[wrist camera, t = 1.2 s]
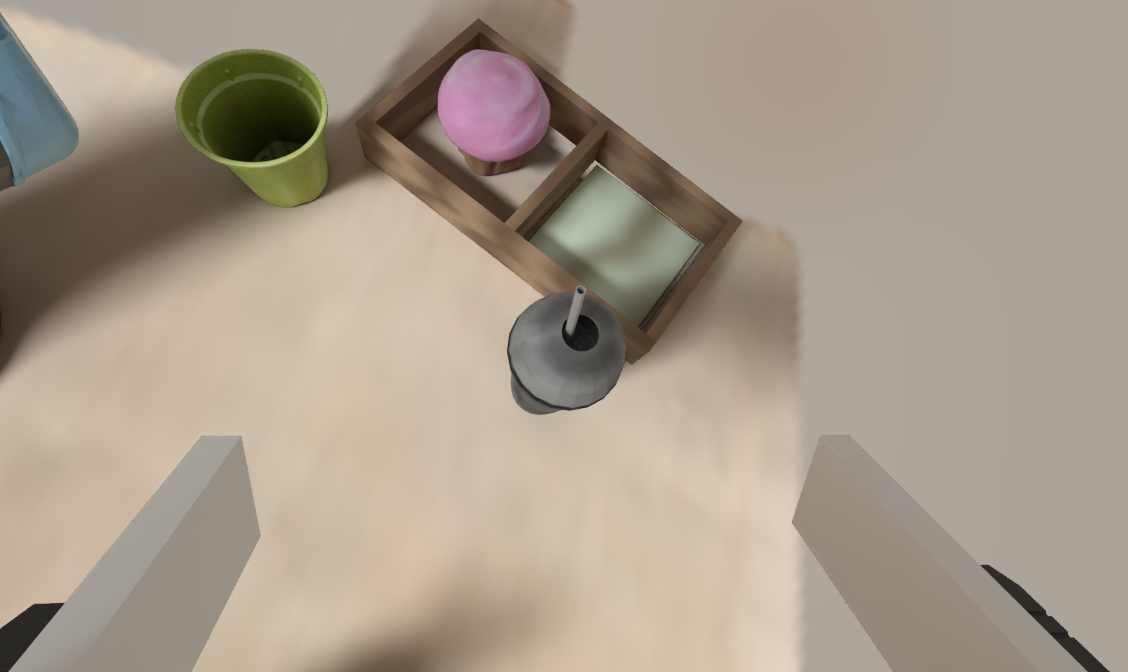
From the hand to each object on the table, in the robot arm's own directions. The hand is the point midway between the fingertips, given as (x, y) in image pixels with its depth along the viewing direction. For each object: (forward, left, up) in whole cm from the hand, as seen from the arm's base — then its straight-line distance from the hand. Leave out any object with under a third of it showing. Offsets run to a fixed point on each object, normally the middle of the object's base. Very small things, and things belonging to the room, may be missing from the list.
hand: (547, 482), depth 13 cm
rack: (-11, +23, -30) cm, 40 cm away
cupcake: (-18, +23, -30) cm, 42 cm away
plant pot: (-29, +10, -30) cm, 43 cm away
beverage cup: (-2, +9, -30) cm, 32 cm away
